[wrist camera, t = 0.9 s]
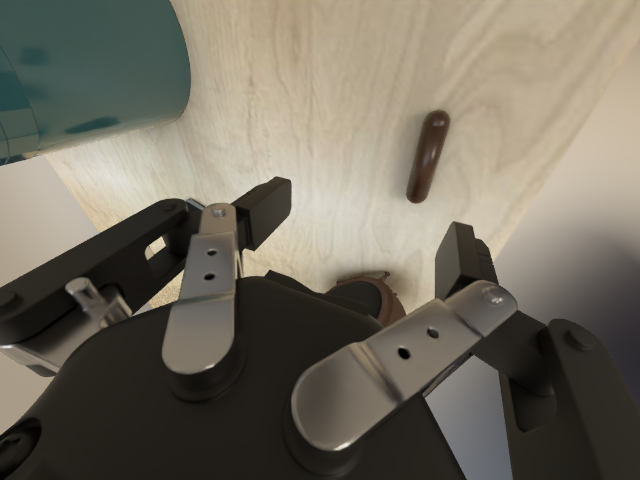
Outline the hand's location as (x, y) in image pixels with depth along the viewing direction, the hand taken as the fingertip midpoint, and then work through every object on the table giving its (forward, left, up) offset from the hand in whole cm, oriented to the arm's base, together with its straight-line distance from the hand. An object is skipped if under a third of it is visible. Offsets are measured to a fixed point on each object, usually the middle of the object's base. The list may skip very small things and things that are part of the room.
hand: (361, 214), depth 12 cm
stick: (0, +3, -17) cm, 17 cm away
